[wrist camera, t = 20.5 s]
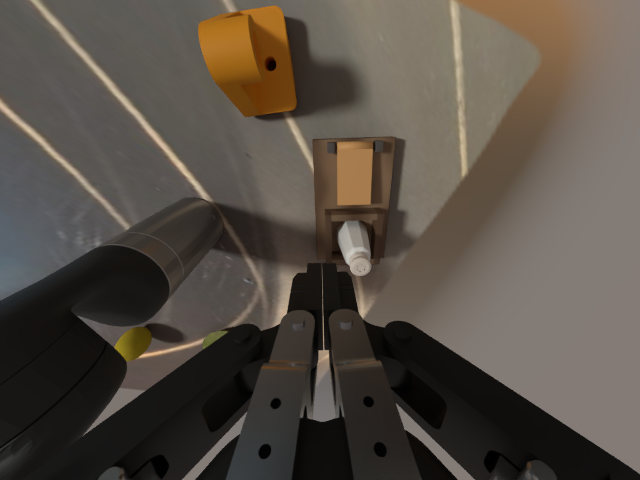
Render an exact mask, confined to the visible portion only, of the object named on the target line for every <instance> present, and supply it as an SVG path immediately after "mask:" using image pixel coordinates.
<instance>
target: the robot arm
mask: <svg viewBox="0 0 640 480" xmlns="http://www.w3.org/2000/svg"><path fill="white" fill-rule="evenodd" d="M223 228H224V226H223V221H222V218H221V216H220V214H219V212H218V211H217V210H216V209H215V208H214V207H213V206H212V205H211V204H209V203H208V202H206V201H204V200H201V199H198V198H185V199H181V200H180V201H178V202H176V203H174V204H172V205H171V206H169V207H166V208H164V209H163V210H161V211H159V212H157V213H155V214H154V215H152V216H150V217H148V218H147V219H145V220H143V221H141V222H140V223H138V224H136V225H134V226H132V227H131V228H129V229H128V230H126V231H124V232H123V233H121V234H119V235H117V236H116V237H114V238H112V239H111V240H109V241H107V242H105V243H104V244H102V245H100V246H98V247H97V248H95V249H93V250H91V251H90V252H88V253H86V254H85V255H83V256H81V257H80V258H78V259H76V260H75V261H73V262H71V263H70V264H68V265H66V266H65V267H63V268H61V269H59V270H58V271H56V272H54V273H52V274H51V275H49V276H47V277H45V278H44V279H42V280H40V281H38V282H36V283H34V284H32V285H30V286H28V287H26V288H24V289H22V290H20V291H19V292H17V293H15V294H13V295H11V296H9V297H7V298H5V299H3V300H1V301H0V480H182V479H183V478H184V477H185V476H186V475H187V473H188V472H189V471H190V470H191V469H192V468H193V467H194V466H195V465H196V464H197V463H198V462H199V461H200V460H201V459H202V458H203V457H204V456H205V455H206V454H207V452H209V451H210V450H211V448H212V447H213V446H214V445H215V444H216V443H217V442H218V441H219V440H220V439H221V438H222V437H223V436H224V435H225V434H226V433H227V432H228V431H229V430H230V429H231V428H232V427H233V425H234V424H235V423H236V422H237V421H238V420H239V419H240V418H241V417H242V416H243V415H244V414H245V413H246V412H247V414H246V417H245V420H244V423H243V427H242V430H241V433H240V434H239V435H238V436H237V437H235V438H234V439H233V440H231V441H230V442H229V443H228V444H227V445H226V446H225V447H224V448H223V449H222V450H221V451H220V452H219V453H218V454H217V455H216V457H215V458H214V459H213V460H212V461H211V462H210V463H209V465H208V466H207V467H206V468H205V469H204V470H203V472H202V473H201V474H200V475H199V476H198V477H197V478H196V480H457V478H456V477H455V476H454V475H453V474H452V473H451V472H450V471H449V470H448V469H447V468H446V467H445V466H444V465H443V464H442V463H441V461H440V460H439V459H437V457H436V456H435V455H434V454H433V453H432V452H431V451H430V450H429V449H428V448H427V447H426V446H425V445H424V444H423V443H422V442H421V441H420V440H419V439H418V438H416V437H415V436H413V435H412V434H411V433H409V432H408V431H406V430H405V429H404V426H403V423H402V420H401V417H400V415H399V412H398V409H397V406H396V403H397V404H398V405H399V406H400V407H401V408H402V409H403V410H404V411H405V412H406V413H407V414H408V415H409V416H410V417H411V418H412V419H413V420H414V421H415V422H416V423H417V424H418V425H419V426H420V427H421V428H422V429H423V430H425V432H426V433H428V434H429V435H430V436H431V437H432V438H433V439H434V440H435V441H436V442H437V443H438V444H439V445H440V446H441V447H442V448H443V449H444V450H445V451H446V452H447V453H448V454H449V455H450V456H451V457H452V458H453V459H454V460H455V461H457V463H459V464H460V465H461V466H462V467H463V468H464V469H465V470H466V471H467V472H468V473H469V474H470V475H471V476H472V477H473V478H474V479H475V480H640V474H638V473H637V472H636V471H634V470H633V469H632V468H630V467H629V466H627V465H626V464H624V463H623V462H621V461H620V460H618V459H617V458H615V457H614V456H612V455H610V454H609V453H608V452H606V451H604V450H603V449H601V448H600V447H598V446H597V445H595V444H594V443H592V442H591V441H589V440H587V439H586V438H585V437H583V436H581V435H580V434H578V433H577V432H575V431H574V430H572V429H571V428H569V427H568V426H566V425H565V424H563V423H562V422H560V421H559V420H557V419H556V418H554V417H553V416H551V415H549V414H548V413H546V412H545V411H543V410H542V409H540V408H539V407H537V406H536V405H534V404H533V403H531V402H530V401H528V400H527V399H525V398H524V397H522V396H520V395H519V394H517V393H516V392H514V391H513V390H511V389H510V388H508V387H507V386H505V385H504V384H502V383H501V382H499V381H498V380H496V379H494V378H493V377H491V376H490V375H488V374H487V373H485V372H484V371H482V370H481V369H479V368H478V367H476V366H475V365H473V364H471V363H470V362H469V361H467V360H465V359H464V358H462V357H461V356H459V355H458V354H456V353H455V352H453V351H452V350H450V349H449V348H447V347H445V346H444V345H443V344H441V343H439V342H438V341H436V340H435V339H433V338H432V337H430V336H429V335H427V334H426V333H424V332H423V331H421V330H420V329H418V328H416V327H415V326H413V325H412V324H410V323H407V322H403V321H393V322H390V323H388V324H387V325H386V326H385V328H383V327H379V326H375V325H372V324H369V323H367V322H366V321H365V320H363V319H362V317H361V316H360V315H359V312H358V307H357V302H356V297H355V292H354V287H353V282H352V278H351V276H350V275H349V274H348V273H347V272H337V267H336V263H322V267H323V310H322V271H321V263H308V265H307V273H297V275H296V276H295V277H294V278H293V281H292V287H291V293H290V299H289V305H288V311H287V314H286V315H285V316H284V317H283V318H282V320H281V323H280V324H279V325H277V326H275V327H273V328H270V329H266V330H263V331H260V329H259V328H258V327H257V326H255V325H253V324H242V325H239V326H236V327H234V328H233V329H231V330H230V331H229V332H227V333H226V334H224V335H223V336H222V337H220V338H219V339H217V340H216V341H215V342H213V343H212V344H210V345H209V346H208V347H206V348H205V349H203V350H202V351H201V352H199V353H198V354H196V355H195V356H194V357H192V358H191V359H189V360H188V361H187V362H185V363H184V364H183V365H181V366H180V367H178V368H177V369H176V370H174V371H173V372H171V373H170V374H169V375H167V376H166V377H164V378H163V379H162V380H160V381H159V382H157V383H156V384H155V385H153V386H152V387H150V388H149V389H148V390H146V391H145V392H143V393H142V394H141V395H139V396H138V397H137V398H135V399H134V400H133V401H131V402H130V403H128V404H127V405H125V406H124V407H123V408H121V409H120V410H118V411H117V412H116V413H114V414H113V415H111V416H110V417H109V418H107V419H106V420H105V421H103V422H102V423H100V424H99V425H97V426H96V427H95V428H93V429H92V430H91V431H89V432H88V433H86V434H85V435H84V436H83V434H84V433H85V432H86V431H87V430H88V429H89V427H90V426H91V425H92V424H93V423H94V422H95V420H96V419H97V418H98V417H99V415H100V414H101V413H102V411H103V410H104V409H105V408H106V406H107V405H108V404H109V403H110V401H111V400H112V398H113V397H114V395H115V394H116V392H117V391H118V389H119V387H120V385H121V384H122V382H123V380H124V378H125V375H126V372H127V363H126V360H125V359H124V357H123V356H122V355H121V354H120V353H119V352H118V351H117V350H116V349H115V348H114V347H113V346H112V345H110V344H109V343H108V342H107V341H105V340H104V339H103V338H102V337H101V336H100V335H98V334H97V333H96V332H95V331H94V330H93V329H91V328H90V327H89V326H88V325H87V324H85V323H84V322H83V321H82V320H81V319H80V318H78V317H77V316H80V317H84V318H87V319H90V320H93V321H96V322H99V323H102V324H106V325H112V326H134V325H138V324H141V323H143V322H146V321H147V320H149V319H150V318H152V317H153V316H154V315H155V314H156V313H157V312H158V311H159V310H160V309H161V307H162V306H163V305H164V304H165V303H166V301H167V300H168V299H169V298H170V297H171V296H172V294H173V293H174V292H175V291H176V290H177V288H178V287H179V286H180V285H181V284H182V282H183V281H184V280H185V279H186V278H187V277H188V275H189V274H190V273H191V272H192V271H193V269H194V268H195V267H196V266H197V265H198V264H199V262H200V261H201V260H202V259H203V258H204V257H205V255H206V254H207V253H208V252H209V251H210V250H211V248H212V247H213V246H214V245H215V244H216V242H217V241H218V240H219V239H220V237H221V236H222V233H223ZM323 316H324V347H325V350H329V362H330V375H331V383H332V391H333V400H334V407H335V419H332V420H329V421H326V422H319V421H316V420H313V407H314V397H315V387H316V376H317V363H318V350H323Z"/></svg>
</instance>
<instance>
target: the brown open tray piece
mask: <svg viewBox="0 0 640 480" xmlns="http://www.w3.org/2000/svg"><path fill="white" fill-rule="evenodd" d="M395 140H396V137H365V138H335V139H313V164H314V188H315V212H316V236H317V259H326V263H336V265H348V264H347V263H346V261H345V259H344V257H343V254H342V252H341V249H340V246H339V244H338V241H337V228H338V227H339V226H340V225H341V224H342V223H343V222H344V221H360V222H361V223H362V224H363V225H364V226H365V227H366V228H367V234H368V240H369V246H370V252H371V255H370V263H371V264H379V262H380V257H384V250H385V240H386V230H387V220H388V210H389V200H390V190H391V180H392V170H393V160H394V150H395ZM353 141H373V156H372V180H371V204H368V205H337V142H353Z"/></svg>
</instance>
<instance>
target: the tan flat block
mask: <svg viewBox="0 0 640 480" xmlns="http://www.w3.org/2000/svg"><path fill="white" fill-rule="evenodd" d="M372 156H373V141H353V142H337V205H368V204H371V180H372Z"/></svg>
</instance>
